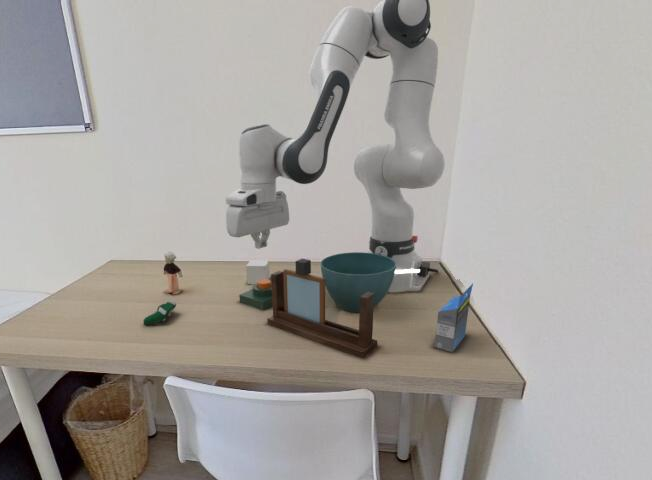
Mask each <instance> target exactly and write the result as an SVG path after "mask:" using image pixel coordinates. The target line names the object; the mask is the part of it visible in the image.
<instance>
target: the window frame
mask: <svg viewBox="0 0 652 480" xmlns="http://www.w3.org/2000/svg"><path fill="white" fill-rule="evenodd" d="M270 281H271V286H272V306H271V307H272V315H271V316H269V317H268V318H267V321H266V322H267V325H270V326H273V327H275V328H278V329H280V330H282V331H285V332H288V333H292V334H294V335H297V336H299V337H303V338H304V339H305V338H306V339H308V340H310V341H313V342H316V343H319V344H322V345H324V346H327V347H330V348H332V349H336V350H339V351H341V352H343V353H347V354H350V355H352V356H355V357H358V358H361V359H364V358H366V357H367V356H368V355H369V354H370V353H372V352H373V351H374V350H375V349H376V348H377V347H378V342H379V341H378V340H377V339H374V338H373V332H374V331H373V330H374V328H373V327H374V314H375V313H374V312H375V311H374V310H375V308H374V293H370V292H367V293H365V294H363V295H362V296H360V314H358V315H359V318H358V329H356V328H352V327H349V326H346V325H343V324H341V323H336V322H334V321H330V320H327V319H325V324H322V323H318V322H315V321H312V320H309V319H306V318H303V317H300V316H297V315H294V314H291V313H287V312H285V309H284V282H283V270H278V271H276V272H275V271H274V272H272V273H270Z"/></svg>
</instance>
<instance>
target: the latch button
mask: <svg viewBox="0 0 652 480" xmlns="http://www.w3.org/2000/svg"><path fill="white" fill-rule="evenodd" d="M258 288H259V289H268V288H271V279H269V280H267V279H263V280H259V281H258Z"/></svg>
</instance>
